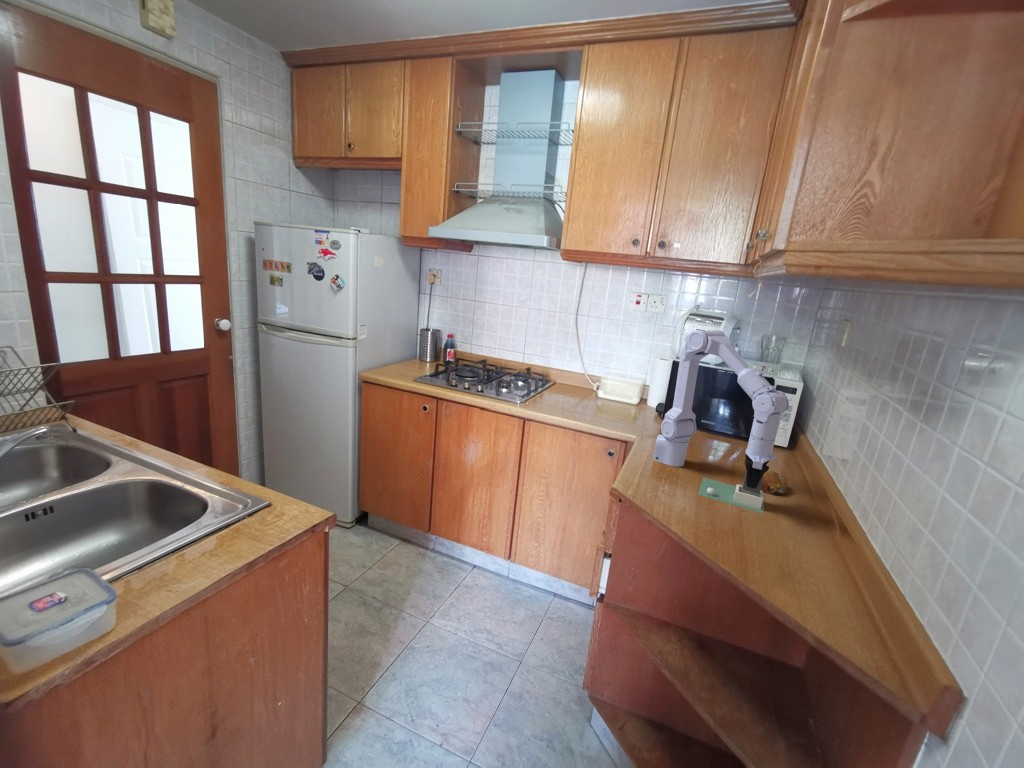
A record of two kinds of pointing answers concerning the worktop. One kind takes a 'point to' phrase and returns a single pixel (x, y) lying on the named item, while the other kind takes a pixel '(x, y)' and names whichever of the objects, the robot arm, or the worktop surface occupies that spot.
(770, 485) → the bread roll
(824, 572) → the worktop surface
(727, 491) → the board
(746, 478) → the plug
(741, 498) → the white rectangular frame
